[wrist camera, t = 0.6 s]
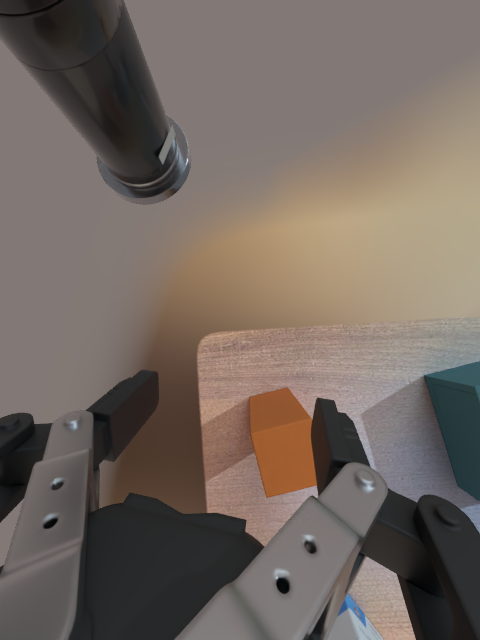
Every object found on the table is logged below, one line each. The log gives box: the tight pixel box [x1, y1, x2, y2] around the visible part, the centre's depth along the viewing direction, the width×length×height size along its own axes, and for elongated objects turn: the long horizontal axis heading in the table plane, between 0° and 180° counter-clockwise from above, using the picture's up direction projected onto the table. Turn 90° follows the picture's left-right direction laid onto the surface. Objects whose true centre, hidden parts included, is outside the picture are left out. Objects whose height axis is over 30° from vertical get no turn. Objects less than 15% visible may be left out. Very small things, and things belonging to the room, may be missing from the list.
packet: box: [250, 388, 317, 498], centre depth 25 cm, size 5×5×12 cm
